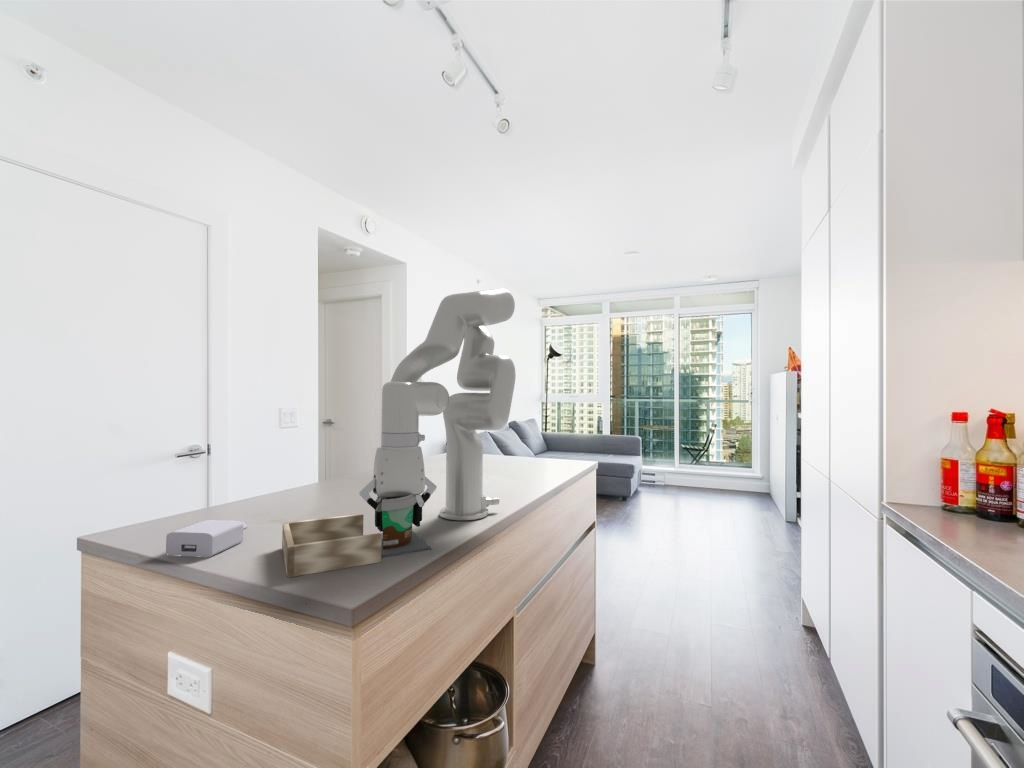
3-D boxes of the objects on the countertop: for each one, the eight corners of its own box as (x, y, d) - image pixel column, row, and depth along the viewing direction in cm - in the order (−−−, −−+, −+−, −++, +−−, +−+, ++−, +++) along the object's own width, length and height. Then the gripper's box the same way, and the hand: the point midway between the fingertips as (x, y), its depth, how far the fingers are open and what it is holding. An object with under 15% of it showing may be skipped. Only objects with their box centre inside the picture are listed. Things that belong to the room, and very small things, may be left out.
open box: (362, 536, 98) (362, 513, 98) (381, 561, 83) (381, 534, 83) (282, 548, 90) (282, 522, 91) (287, 577, 76) (288, 547, 76)
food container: (414, 550, 88) (413, 499, 88) (381, 552, 87) (381, 500, 88) (419, 530, 100) (419, 485, 100) (391, 532, 100) (391, 486, 100)
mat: (410, 530, 103) (410, 529, 103) (431, 548, 91) (431, 546, 91) (365, 537, 98) (365, 535, 98) (380, 557, 86) (380, 555, 86)
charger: (261, 534, 100) (211, 558, 85) (221, 533, 100) (165, 557, 86) (262, 513, 100) (212, 533, 85) (222, 512, 101) (166, 531, 86)
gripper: (433, 437, 102) (432, 518, 101) (353, 441, 93) (351, 528, 93) (445, 440, 95) (444, 526, 95) (360, 444, 87) (358, 538, 86)
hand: (398, 526), depth 94 cm, fingers closed on food container, 6 cm apart
